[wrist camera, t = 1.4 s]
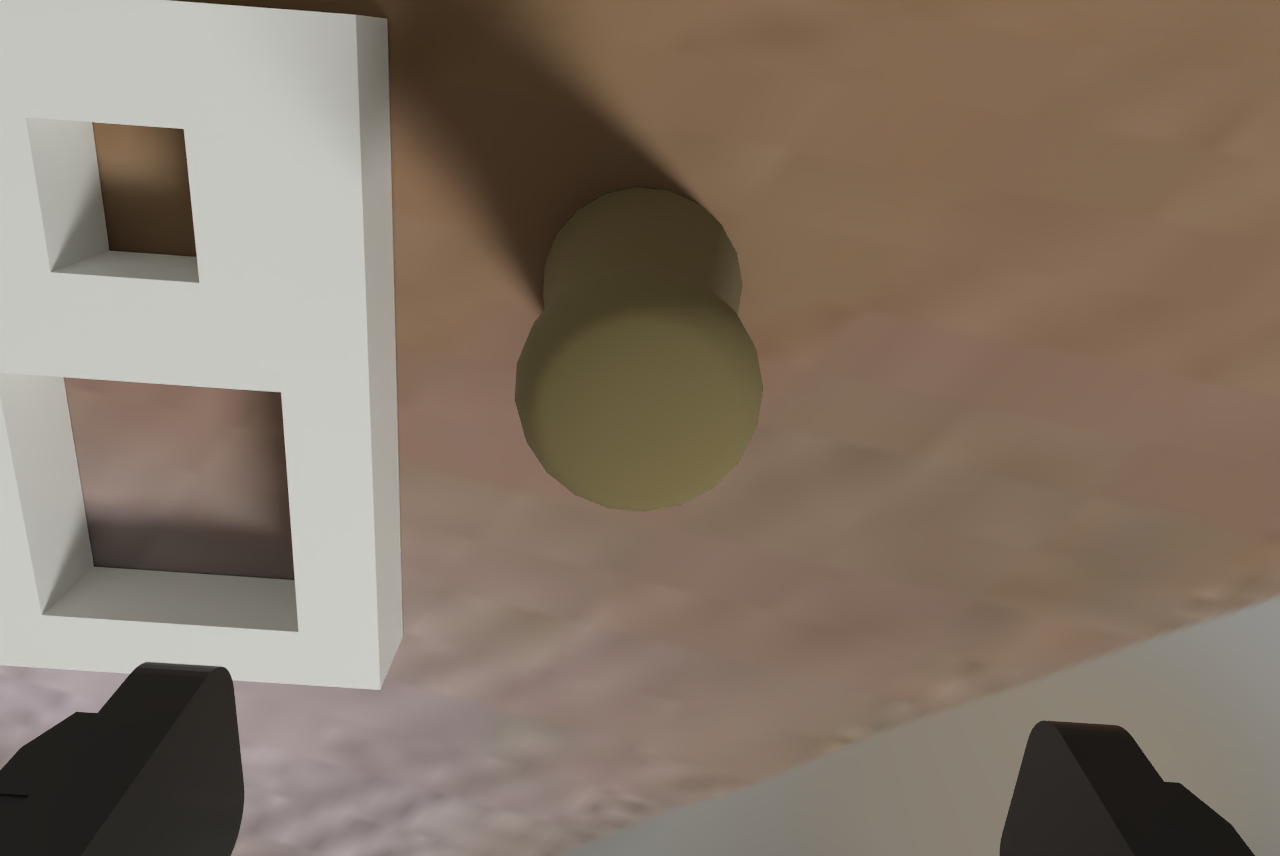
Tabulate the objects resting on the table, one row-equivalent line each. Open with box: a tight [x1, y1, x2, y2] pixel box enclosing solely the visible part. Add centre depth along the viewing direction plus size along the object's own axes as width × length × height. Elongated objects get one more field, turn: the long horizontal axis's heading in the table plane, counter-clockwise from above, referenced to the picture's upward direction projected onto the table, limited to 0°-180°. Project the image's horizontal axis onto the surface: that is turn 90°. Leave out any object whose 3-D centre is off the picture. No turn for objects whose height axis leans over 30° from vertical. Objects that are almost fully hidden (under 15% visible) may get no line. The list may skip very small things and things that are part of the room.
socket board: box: [0, 0, 403, 690], centre depth 28 cm, size 13×20×3 cm, turn 176°
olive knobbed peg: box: [515, 187, 763, 512], centre depth 24 cm, size 6×6×11 cm
